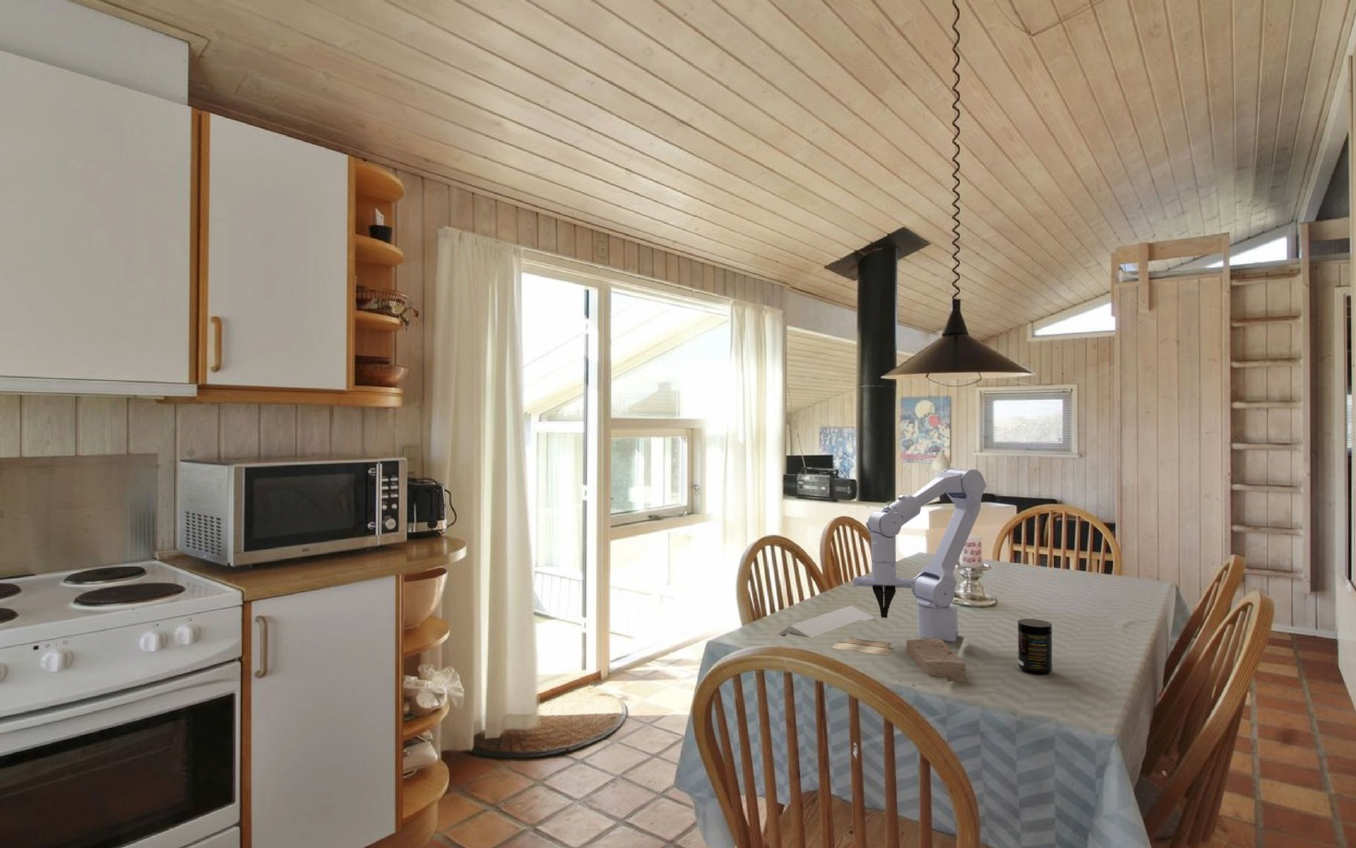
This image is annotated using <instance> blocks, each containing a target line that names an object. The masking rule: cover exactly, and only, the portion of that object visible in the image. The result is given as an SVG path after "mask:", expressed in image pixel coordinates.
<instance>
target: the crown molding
mask: <svg viewBox="0 0 1356 848" xmlns="http://www.w3.org/2000/svg"><path fill="white" fill-rule="evenodd" d="M858 621H866V622H867V621H869V622H878V620H877V618H876V617H875V616H872V615H870V614H869V613H867V612H864V611H863V610H860V609H859V608H856V607H854V606H853V605H849V606H845V607H842V608H839V609H837V610H832V611H830V612H827V613H824V614H821V615H818V616H815V617H812V618H808V619H805V620H803V621H799V622H796V623H794V624H791V625H788V626H787V627H786V628H785V629H783V630H782V631H780V632H779V633H778V635H780V636H787V635H788V634H790V633H791V634H795V635H800V636H805V637H808V638H813V637H817V636H820V635H821V634H822V635H823V634H825V633H827V632H830V631H833V630H835V629H838V628H841V627H844V626H847V625H850V624H852V623H856V622H858Z"/></svg>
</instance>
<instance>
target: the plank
mask: <svg viewBox="0 0 1356 848" xmlns="http://www.w3.org/2000/svg"><path fill="white" fill-rule="evenodd" d="M846 642H852V643H860V644H867V645H875V646H883V647H891V645H892V643H891V642H886V641H875V640H869V639H861V638H852V637H850V638H849V639H848V640H847V641H846Z"/></svg>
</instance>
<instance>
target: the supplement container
mask: <svg viewBox="0 0 1356 848" xmlns="http://www.w3.org/2000/svg"><path fill="white" fill-rule="evenodd" d="M1017 649H1018V650H1017V657H1018V658H1017V664H1018V668H1019V669H1020V670H1021V671H1022V672H1024V673H1027V674H1031V675H1036V676H1046V675H1049V674H1051V673H1052V671H1053V623H1051V622H1050V621H1046V620H1042V619H1038V618H1021V619H1018V620H1017Z"/></svg>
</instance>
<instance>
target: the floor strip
mask: <svg viewBox="0 0 1356 848" xmlns="http://www.w3.org/2000/svg"><path fill="white" fill-rule="evenodd" d="M831 649H837V650H842V651H851V652H857V653H858V652H859V653H864V654H865V653H866V654H873V655H880V656H889V655H890V653H891V652H892V651H893V649H894V648H893V647H891V646H889V647H883V646H875V645H867V644H860V643H852V642H847V641H842V640H837V641H836V643H835V644H833V646H832V647H831Z"/></svg>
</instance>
